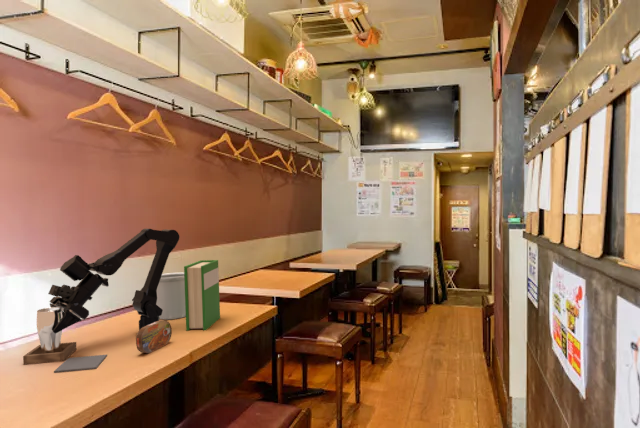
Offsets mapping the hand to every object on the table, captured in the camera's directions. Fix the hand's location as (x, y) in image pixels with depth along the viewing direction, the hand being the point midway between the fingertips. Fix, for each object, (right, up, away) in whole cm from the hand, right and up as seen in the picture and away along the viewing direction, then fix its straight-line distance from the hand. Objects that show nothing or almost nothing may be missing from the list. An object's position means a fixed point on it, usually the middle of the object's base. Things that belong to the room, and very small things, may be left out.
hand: (48, 330), depth 135 cm
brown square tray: (0, -8, 0) cm, 8 cm away
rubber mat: (+14, -8, -7) cm, 18 cm away
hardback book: (+40, -7, +34) cm, 53 cm away
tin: (+31, -8, +6) cm, 32 cm away
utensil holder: (+22, -7, +49) cm, 54 cm away
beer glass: (0, -9, 0) cm, 9 cm away
